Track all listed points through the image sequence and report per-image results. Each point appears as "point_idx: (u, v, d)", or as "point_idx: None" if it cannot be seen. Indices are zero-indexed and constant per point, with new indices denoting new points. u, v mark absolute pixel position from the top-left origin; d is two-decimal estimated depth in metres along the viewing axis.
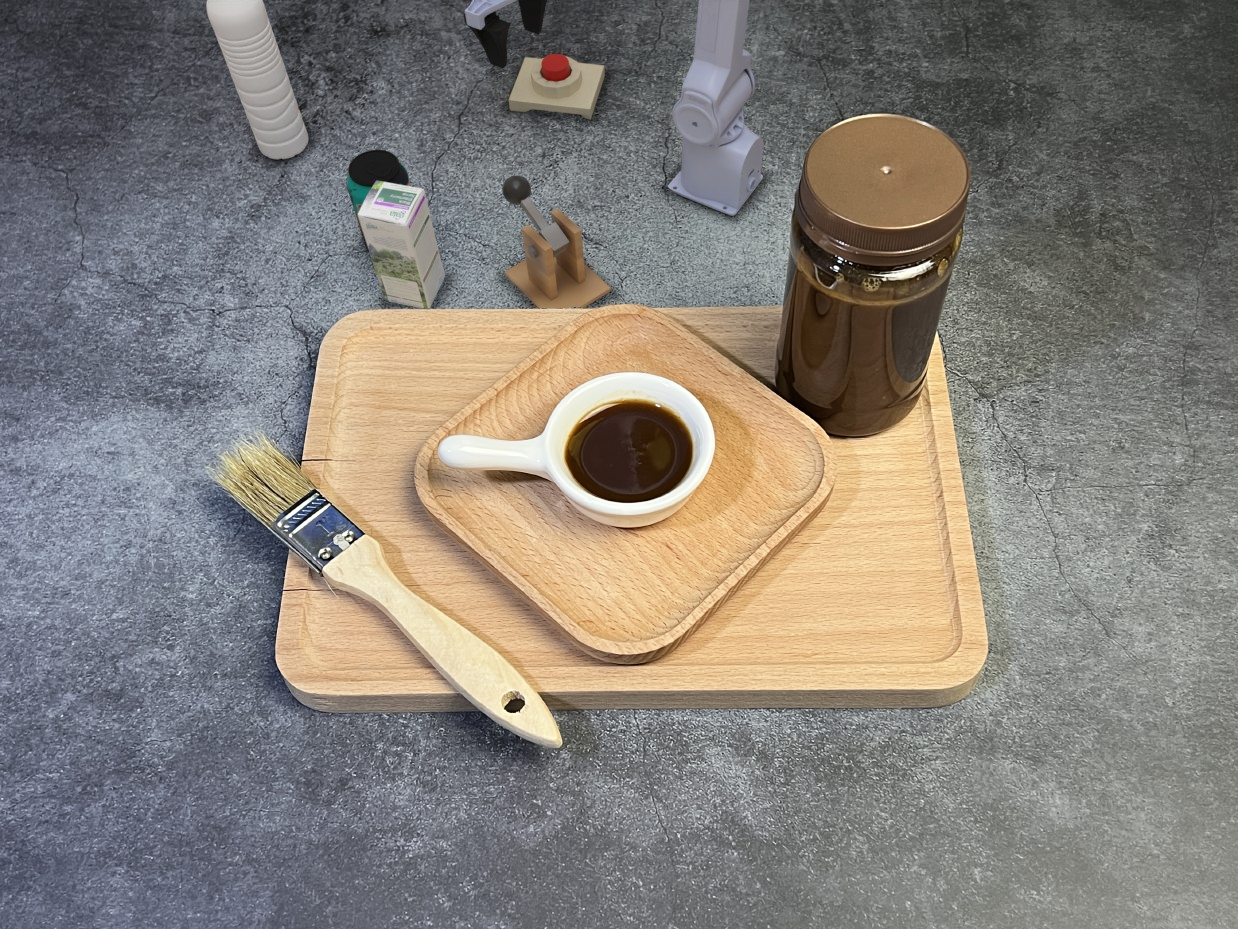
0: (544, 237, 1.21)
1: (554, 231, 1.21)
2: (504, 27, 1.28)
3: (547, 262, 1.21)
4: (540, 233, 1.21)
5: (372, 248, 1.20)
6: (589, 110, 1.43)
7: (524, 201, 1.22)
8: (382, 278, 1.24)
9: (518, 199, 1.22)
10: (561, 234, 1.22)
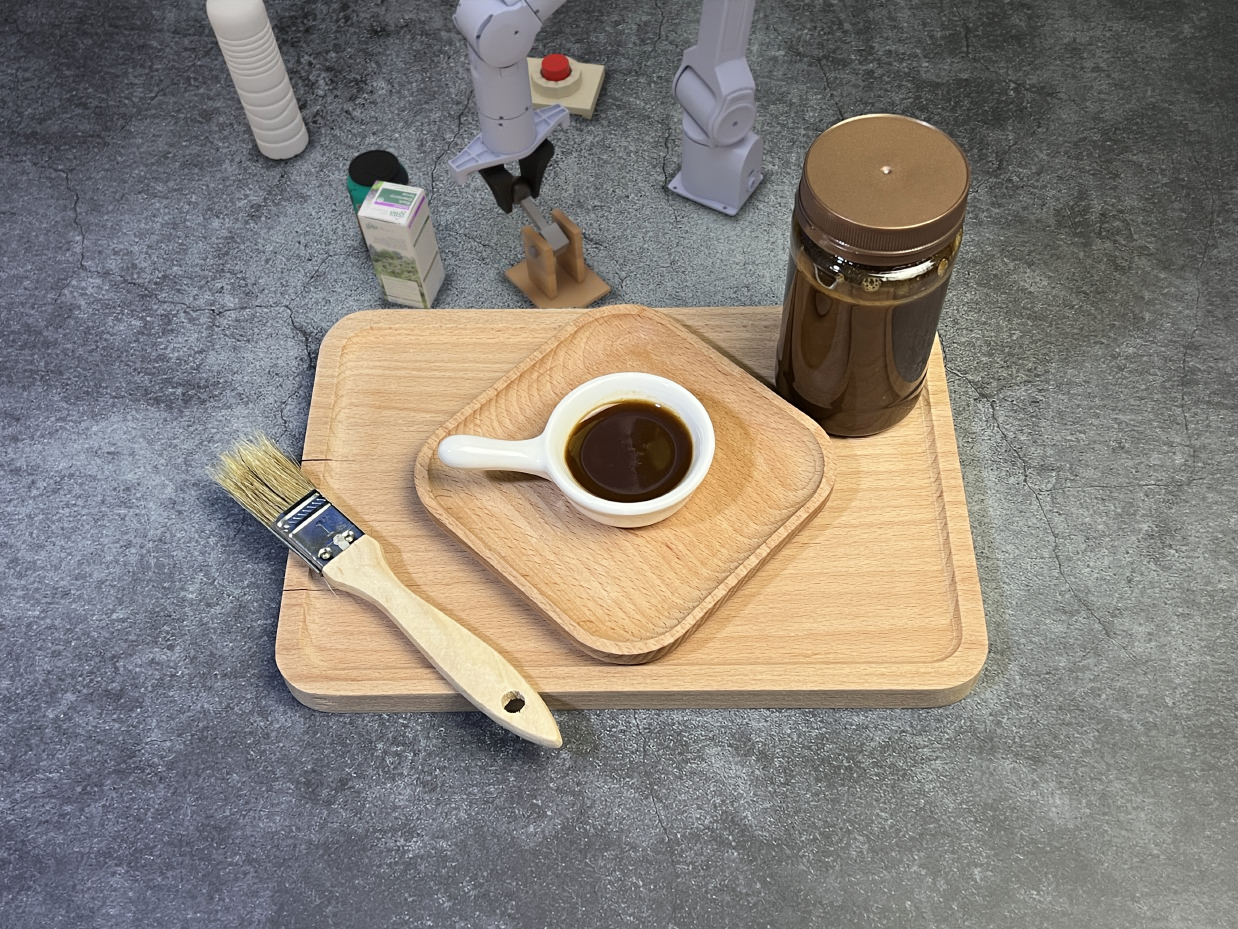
0: (544, 237, 1.21)
1: (554, 231, 1.21)
2: (503, 179, 1.16)
3: (547, 262, 1.21)
4: (540, 233, 1.21)
5: (372, 248, 1.20)
6: (589, 110, 1.43)
7: (524, 201, 1.22)
8: (382, 278, 1.24)
9: (518, 199, 1.22)
10: (561, 234, 1.22)
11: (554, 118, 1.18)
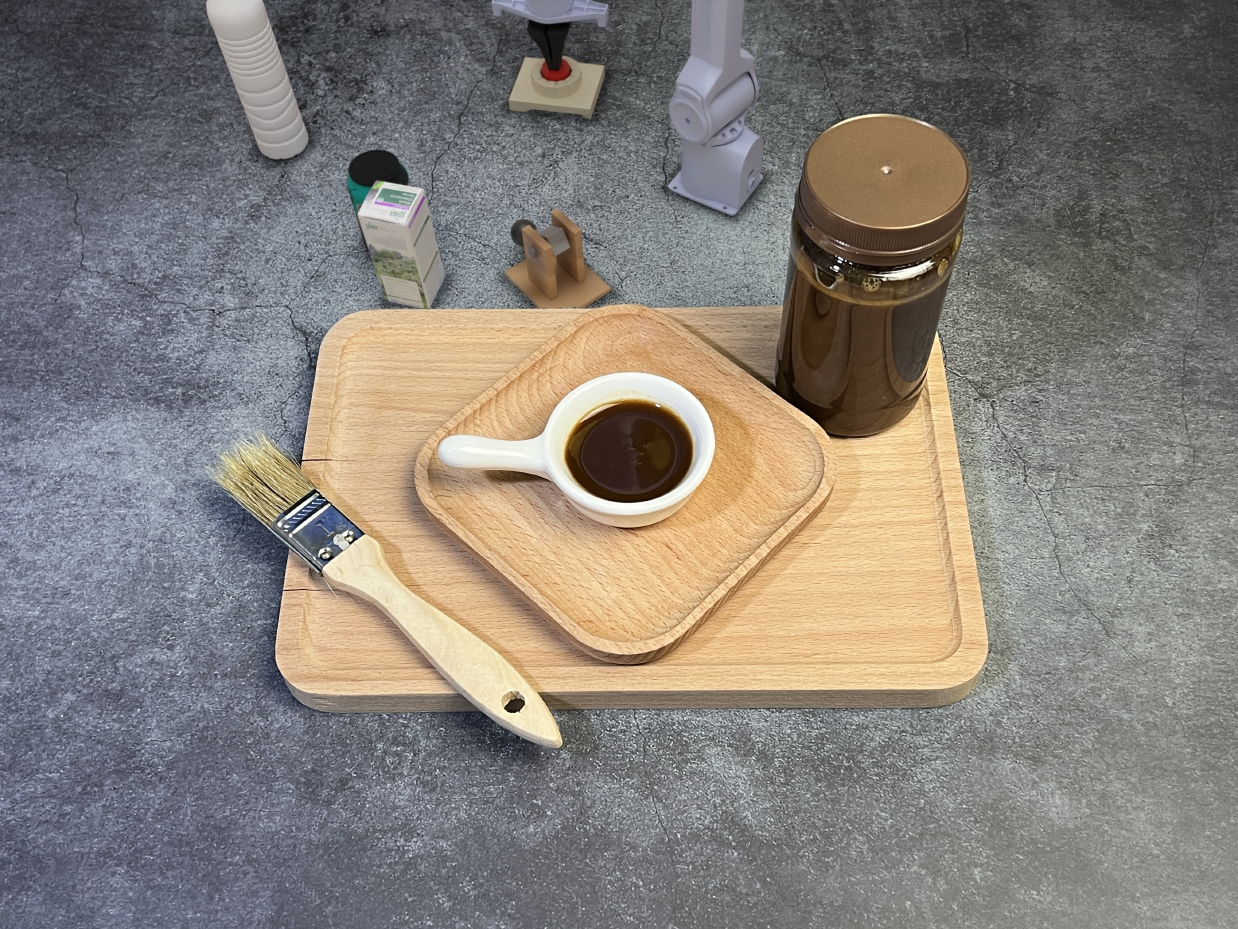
0: None
1: (549, 229, 1.22)
2: (534, 32, 1.37)
3: (547, 262, 1.21)
4: None
5: (372, 248, 1.20)
6: (589, 110, 1.43)
7: None
8: (382, 278, 1.24)
9: (521, 232, 1.26)
10: (555, 227, 1.22)
11: (593, 13, 1.36)
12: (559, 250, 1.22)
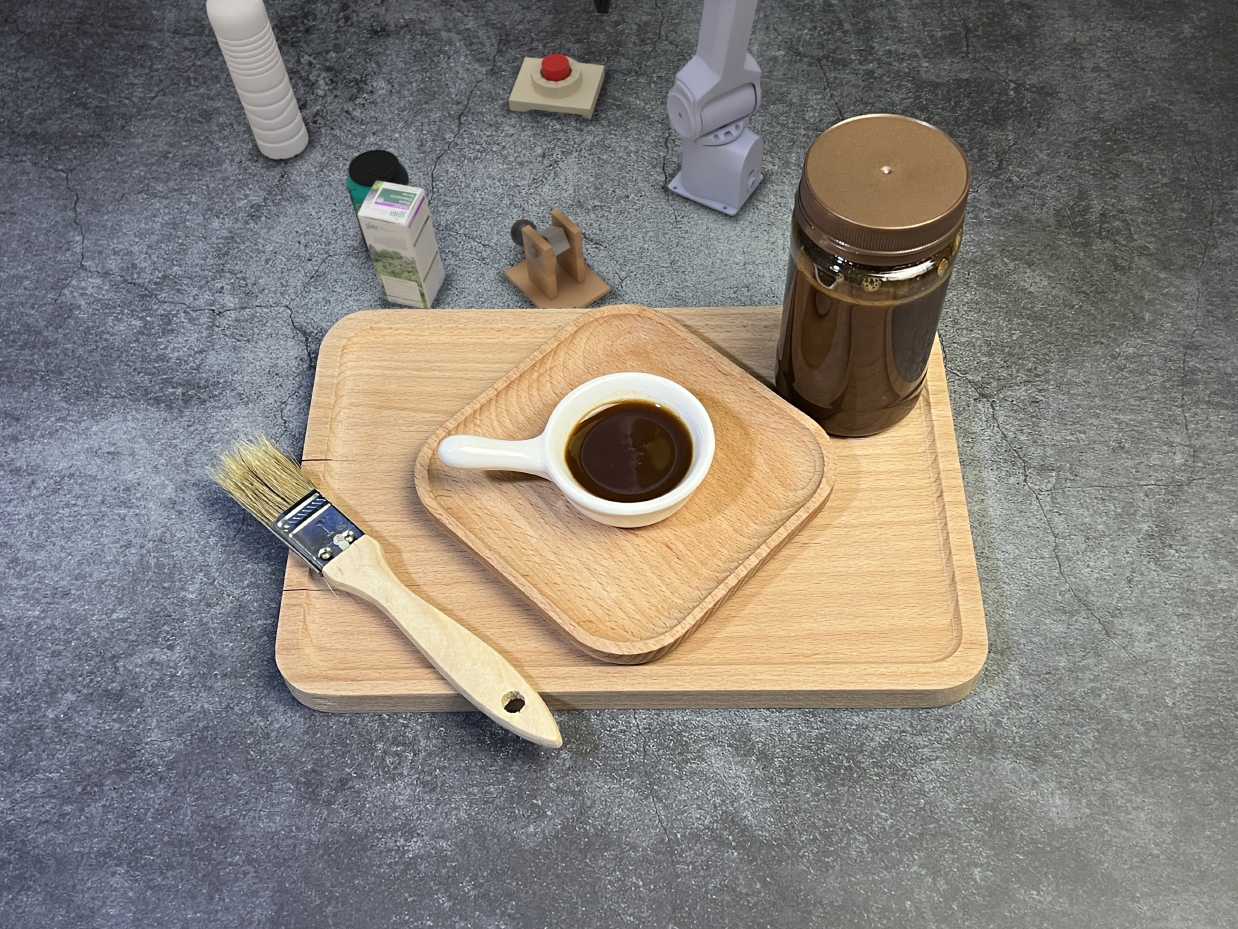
0: None
1: (549, 229, 1.22)
2: None
3: (547, 262, 1.21)
4: None
5: (372, 248, 1.20)
6: (589, 110, 1.43)
7: None
8: (382, 278, 1.24)
9: (521, 232, 1.26)
10: (555, 227, 1.22)
11: None
12: (559, 250, 1.22)
